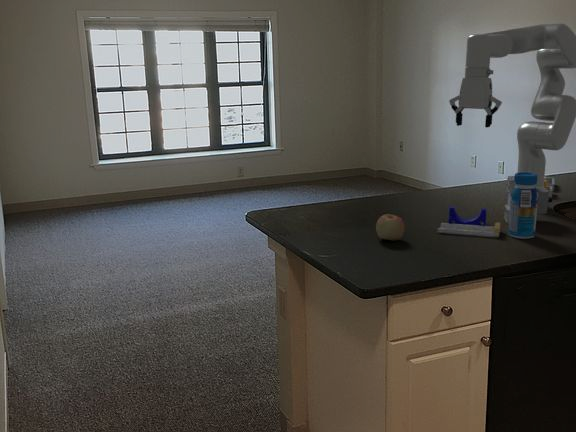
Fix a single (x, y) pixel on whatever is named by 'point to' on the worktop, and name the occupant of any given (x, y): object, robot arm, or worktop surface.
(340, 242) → the worktop surface
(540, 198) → the circuit breaker
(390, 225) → the apple
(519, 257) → the worktop surface
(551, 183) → the cup tray
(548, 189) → the clamp tray
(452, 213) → the blue plastic bracket
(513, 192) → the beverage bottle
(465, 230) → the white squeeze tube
